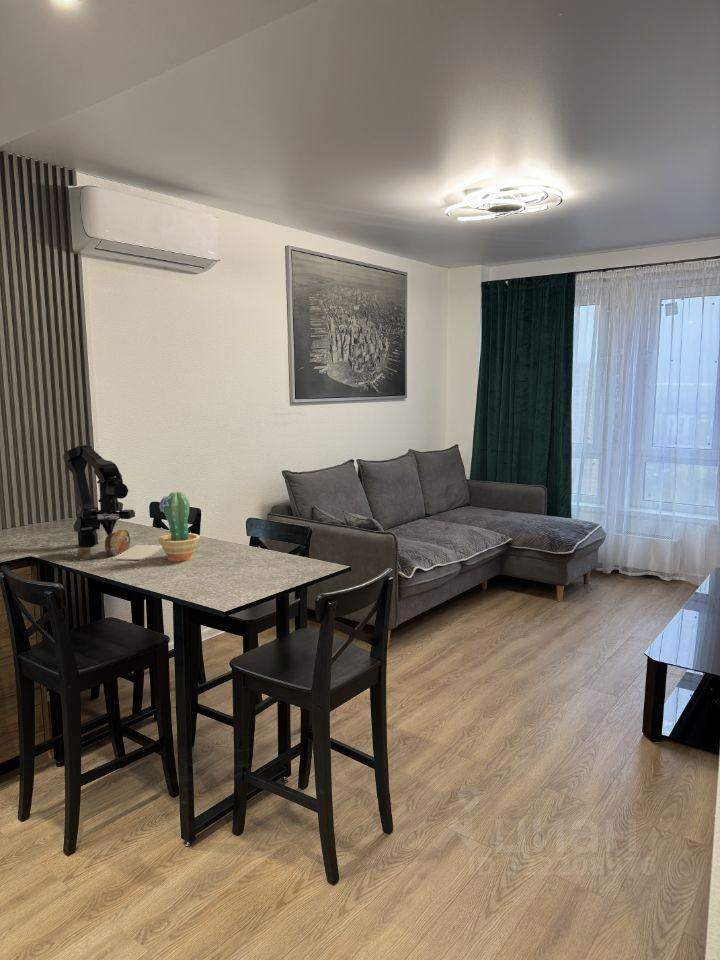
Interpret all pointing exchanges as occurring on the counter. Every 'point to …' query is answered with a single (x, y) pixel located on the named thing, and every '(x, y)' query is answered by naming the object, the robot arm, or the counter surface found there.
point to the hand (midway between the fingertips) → (109, 536)
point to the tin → (117, 542)
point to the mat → (138, 552)
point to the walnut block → (84, 553)
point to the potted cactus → (177, 528)
